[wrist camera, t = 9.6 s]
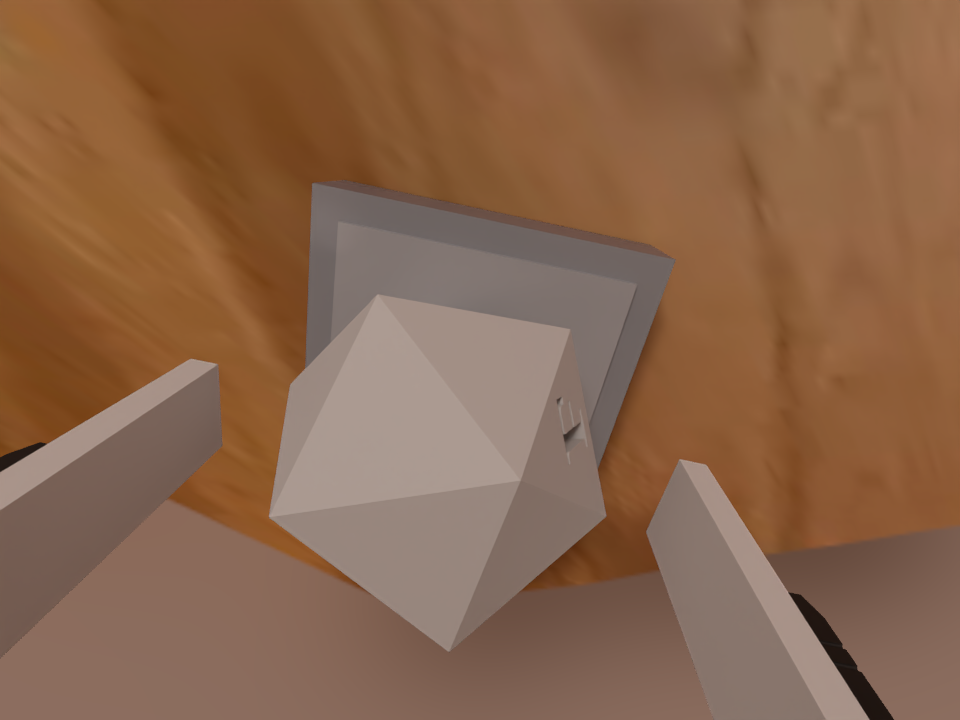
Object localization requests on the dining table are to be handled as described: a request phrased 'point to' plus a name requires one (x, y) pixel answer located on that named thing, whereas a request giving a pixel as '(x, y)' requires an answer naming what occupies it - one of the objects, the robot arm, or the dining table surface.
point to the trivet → (486, 278)
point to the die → (439, 459)
